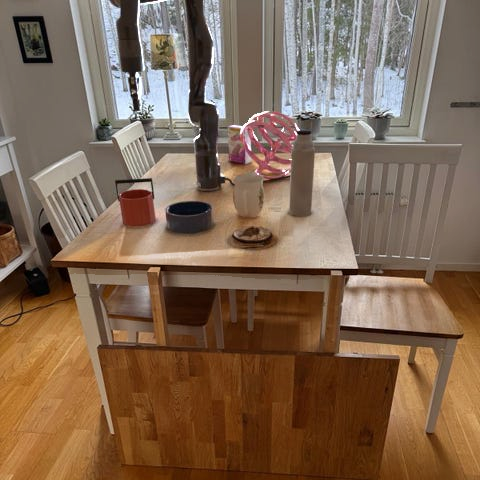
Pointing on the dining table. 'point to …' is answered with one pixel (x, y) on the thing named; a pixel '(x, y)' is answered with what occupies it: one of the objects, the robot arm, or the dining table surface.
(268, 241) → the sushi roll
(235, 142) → the candy bar box
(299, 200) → the thermos bottle
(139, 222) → the red bucket
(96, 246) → the dining table surface
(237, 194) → the pitcher
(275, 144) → the spiral basket
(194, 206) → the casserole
